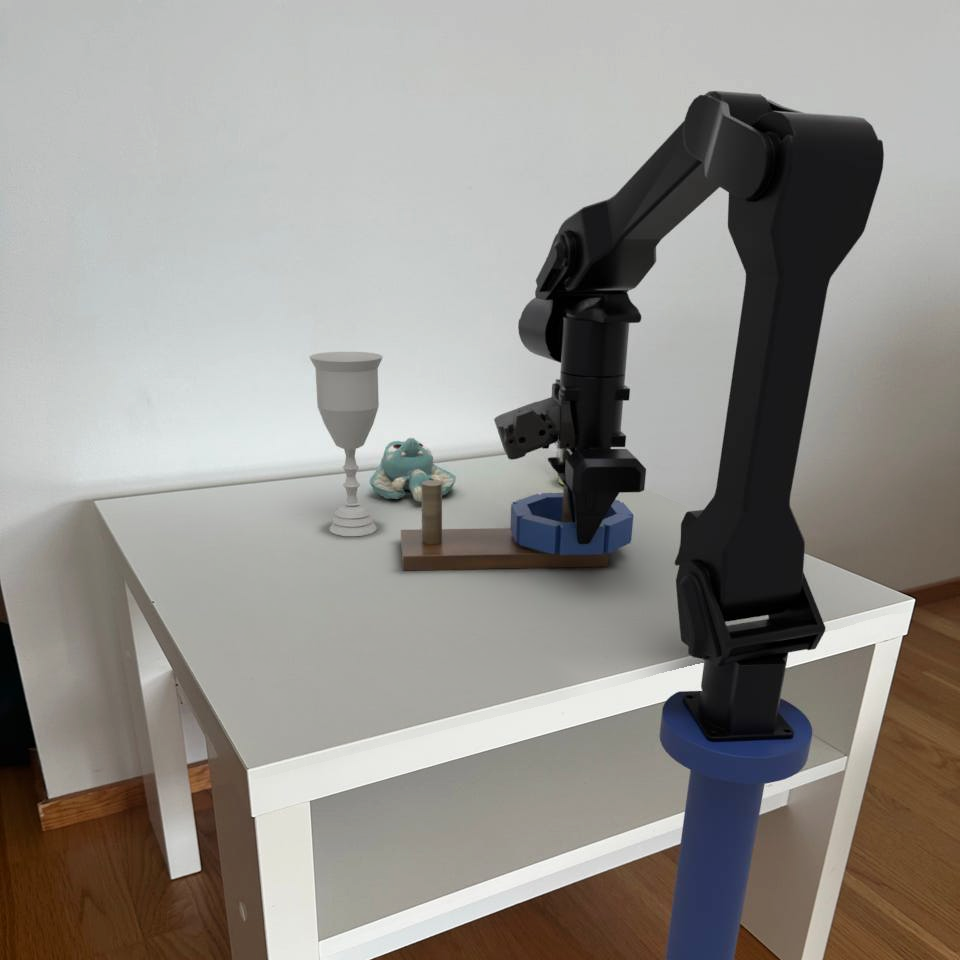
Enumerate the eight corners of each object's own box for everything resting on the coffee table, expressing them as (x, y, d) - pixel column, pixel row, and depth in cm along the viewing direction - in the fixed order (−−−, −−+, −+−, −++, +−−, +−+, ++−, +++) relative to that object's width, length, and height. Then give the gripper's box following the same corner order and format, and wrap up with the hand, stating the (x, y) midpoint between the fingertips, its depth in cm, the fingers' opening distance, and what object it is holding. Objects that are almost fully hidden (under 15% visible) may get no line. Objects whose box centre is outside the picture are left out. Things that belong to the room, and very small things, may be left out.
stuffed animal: (383, 466, 104) (357, 424, 113) (381, 523, 108) (357, 478, 117) (474, 460, 107) (442, 419, 116) (469, 515, 111) (439, 472, 120)
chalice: (322, 541, 97) (313, 362, 90) (315, 521, 103) (305, 352, 95) (392, 536, 99) (388, 360, 91) (381, 517, 105) (376, 350, 97)
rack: (607, 566, 92) (613, 492, 89) (403, 570, 90) (401, 495, 87) (590, 540, 99) (595, 470, 96) (400, 543, 97) (399, 472, 94)
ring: (641, 554, 90) (643, 526, 88) (521, 556, 88) (522, 527, 87) (612, 517, 100) (615, 492, 99) (505, 519, 99) (506, 493, 98)
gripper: (490, 356, 90) (486, 512, 97) (517, 391, 73) (510, 577, 80) (603, 356, 91) (592, 510, 98) (655, 391, 75) (638, 574, 81)
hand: (581, 540), depth 89 cm, fingers closed on ring, 2 cm apart
